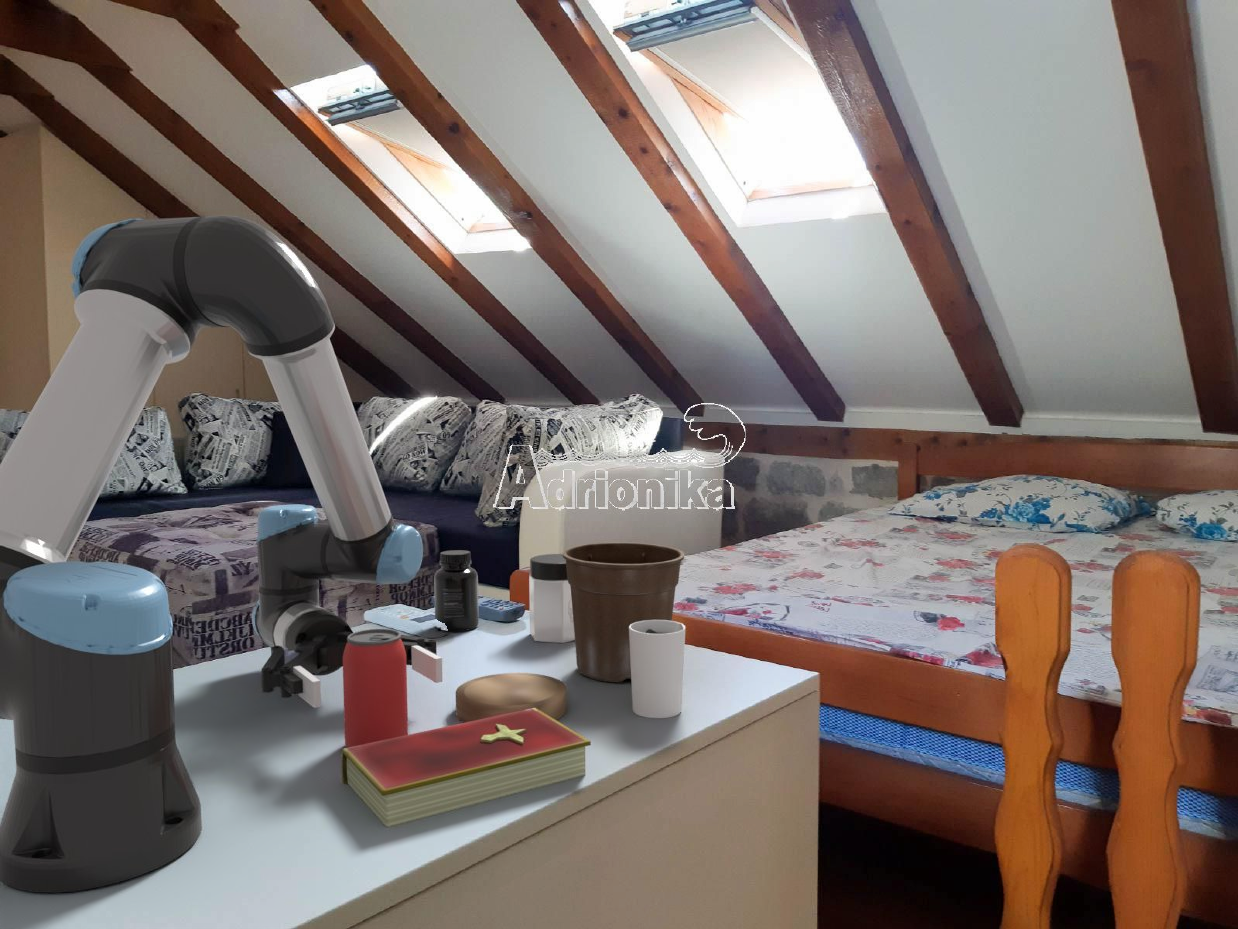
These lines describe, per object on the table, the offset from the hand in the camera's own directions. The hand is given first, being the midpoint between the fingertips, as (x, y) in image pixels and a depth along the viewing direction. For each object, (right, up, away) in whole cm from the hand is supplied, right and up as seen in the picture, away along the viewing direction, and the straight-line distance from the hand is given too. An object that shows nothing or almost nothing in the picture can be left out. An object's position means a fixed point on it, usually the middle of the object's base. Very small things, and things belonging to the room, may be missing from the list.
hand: (380, 682), depth 102 cm
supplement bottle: (0, -3, +50) cm, 50 cm away
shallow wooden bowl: (+13, -6, +11) cm, 18 cm away
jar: (+16, -3, +44) cm, 47 cm away
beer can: (0, -7, 0) cm, 7 cm away
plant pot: (+26, -5, +27) cm, 38 cm away
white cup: (+30, -6, +11) cm, 32 cm away
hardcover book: (+11, -8, -8) cm, 16 cm away
